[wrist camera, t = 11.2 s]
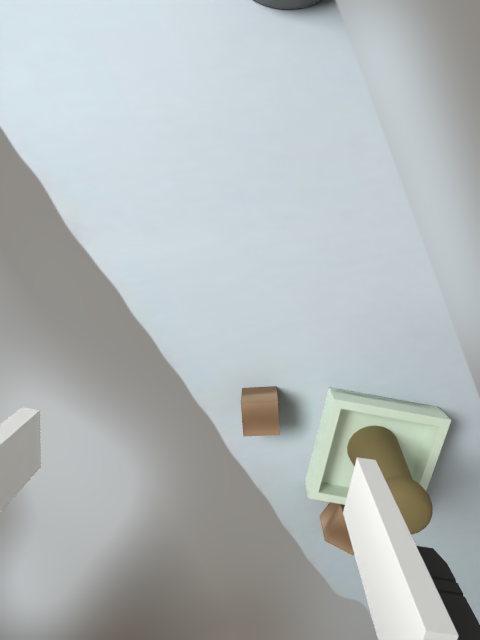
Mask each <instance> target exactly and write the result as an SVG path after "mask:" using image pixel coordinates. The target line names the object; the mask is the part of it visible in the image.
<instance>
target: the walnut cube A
mask: <svg viewBox="0 0 480 640" xmlns="http://www.w3.org/2000/svg"><path fill="white" fill-rule="evenodd" d="M241 411H242V423H243V436H264V435H280V430H279V412H278V398H277V389H276V386H274V387H254V388H242V397H241Z"/></svg>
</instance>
